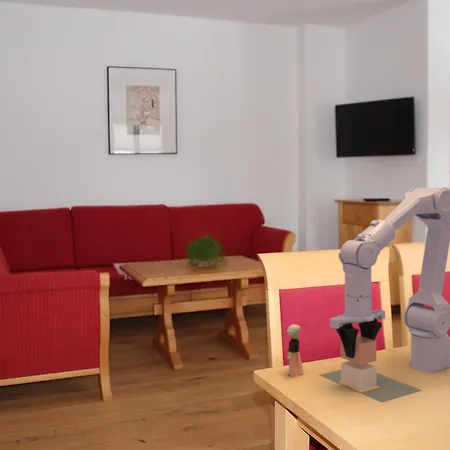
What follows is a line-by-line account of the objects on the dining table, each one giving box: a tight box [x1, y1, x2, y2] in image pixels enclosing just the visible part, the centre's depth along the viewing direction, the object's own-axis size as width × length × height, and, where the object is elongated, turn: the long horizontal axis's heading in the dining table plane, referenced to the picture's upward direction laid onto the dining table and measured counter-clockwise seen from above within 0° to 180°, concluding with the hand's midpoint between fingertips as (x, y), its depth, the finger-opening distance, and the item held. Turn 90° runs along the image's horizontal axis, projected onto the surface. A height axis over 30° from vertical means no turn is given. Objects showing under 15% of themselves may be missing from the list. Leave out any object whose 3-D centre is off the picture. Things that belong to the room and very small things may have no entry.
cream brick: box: [340, 360, 377, 391], centre depth 131 cm, size 5×6×4 cm
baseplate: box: [319, 369, 423, 403], centre depth 132 cm, size 12×20×1 cm, turn 30°
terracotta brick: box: [340, 334, 377, 365], centre depth 130 cm, size 5×6×4 cm
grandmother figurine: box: [286, 324, 304, 378], centre depth 139 cm, size 8×4×13 cm, turn 168°
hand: (358, 355), depth 130 cm, fingers closed on terracotta brick, 4 cm apart
